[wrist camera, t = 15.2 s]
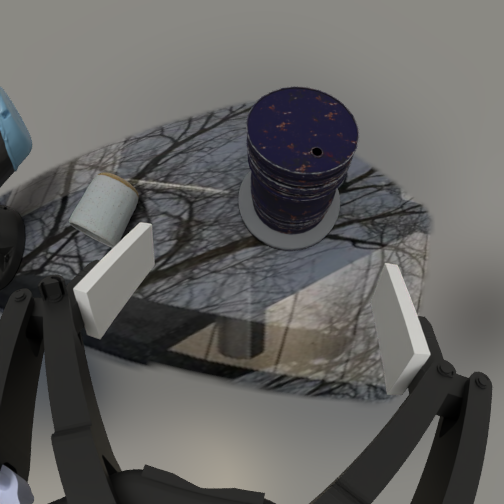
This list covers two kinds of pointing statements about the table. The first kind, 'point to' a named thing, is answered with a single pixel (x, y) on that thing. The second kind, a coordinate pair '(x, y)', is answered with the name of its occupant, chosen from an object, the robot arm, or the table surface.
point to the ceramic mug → (105, 209)
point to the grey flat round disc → (280, 239)
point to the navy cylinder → (298, 156)
